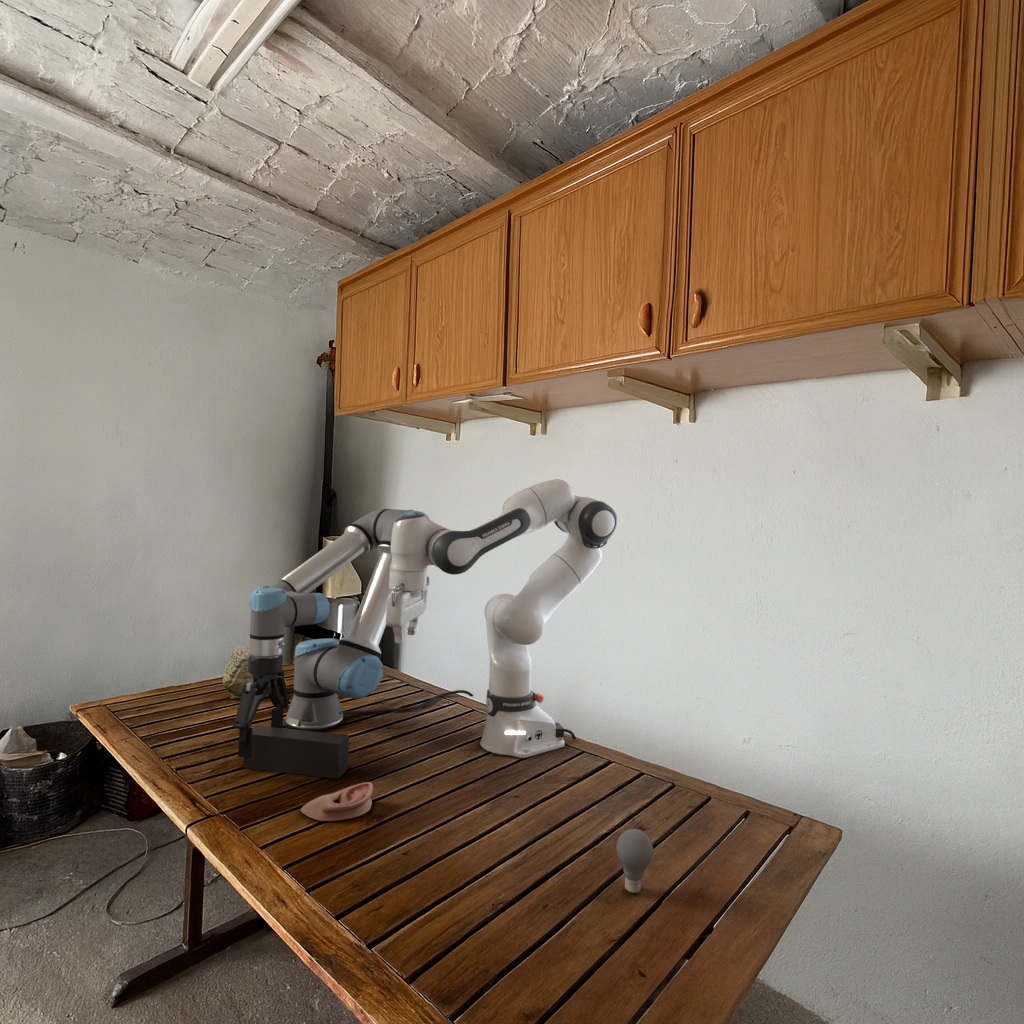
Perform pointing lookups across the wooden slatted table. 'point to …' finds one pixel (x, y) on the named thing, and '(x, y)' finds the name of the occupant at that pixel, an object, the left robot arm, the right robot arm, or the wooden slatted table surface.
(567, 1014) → the wooden slatted table surface
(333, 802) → the anatomical model
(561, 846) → the wooden slatted table surface
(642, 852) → the light bulb
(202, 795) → the wooden slatted table surface
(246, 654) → the fossil
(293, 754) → the bar
